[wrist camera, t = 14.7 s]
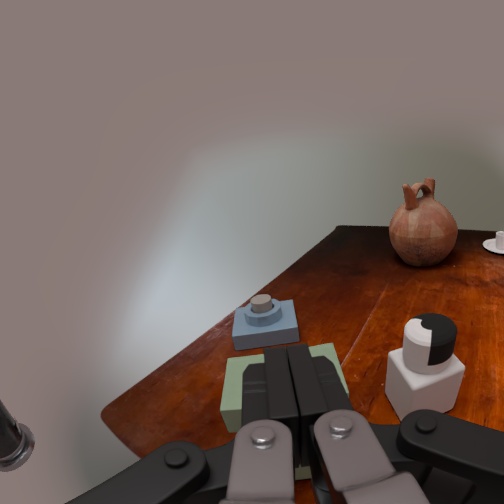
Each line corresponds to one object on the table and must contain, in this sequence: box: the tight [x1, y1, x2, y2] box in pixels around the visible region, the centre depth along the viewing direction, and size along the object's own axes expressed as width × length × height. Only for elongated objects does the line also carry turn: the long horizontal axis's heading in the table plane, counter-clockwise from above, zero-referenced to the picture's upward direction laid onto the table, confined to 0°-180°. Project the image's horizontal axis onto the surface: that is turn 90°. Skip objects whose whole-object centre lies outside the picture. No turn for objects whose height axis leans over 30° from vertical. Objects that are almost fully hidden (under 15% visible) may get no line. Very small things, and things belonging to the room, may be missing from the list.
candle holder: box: [483, 231, 504, 254], centre depth 63 cm, size 12×12×4 cm
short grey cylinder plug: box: [251, 294, 273, 314], centre depth 54 cm, size 4×4×2 cm
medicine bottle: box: [385, 313, 465, 421], centre depth 29 cm, size 7×7×12 cm
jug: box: [389, 178, 457, 266], centre depth 67 cm, size 18×18×20 cm
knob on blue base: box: [232, 299, 300, 350], centre depth 55 cm, size 11×10×5 cm
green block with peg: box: [220, 343, 349, 480], centre depth 26 cm, size 10×7×15 cm
